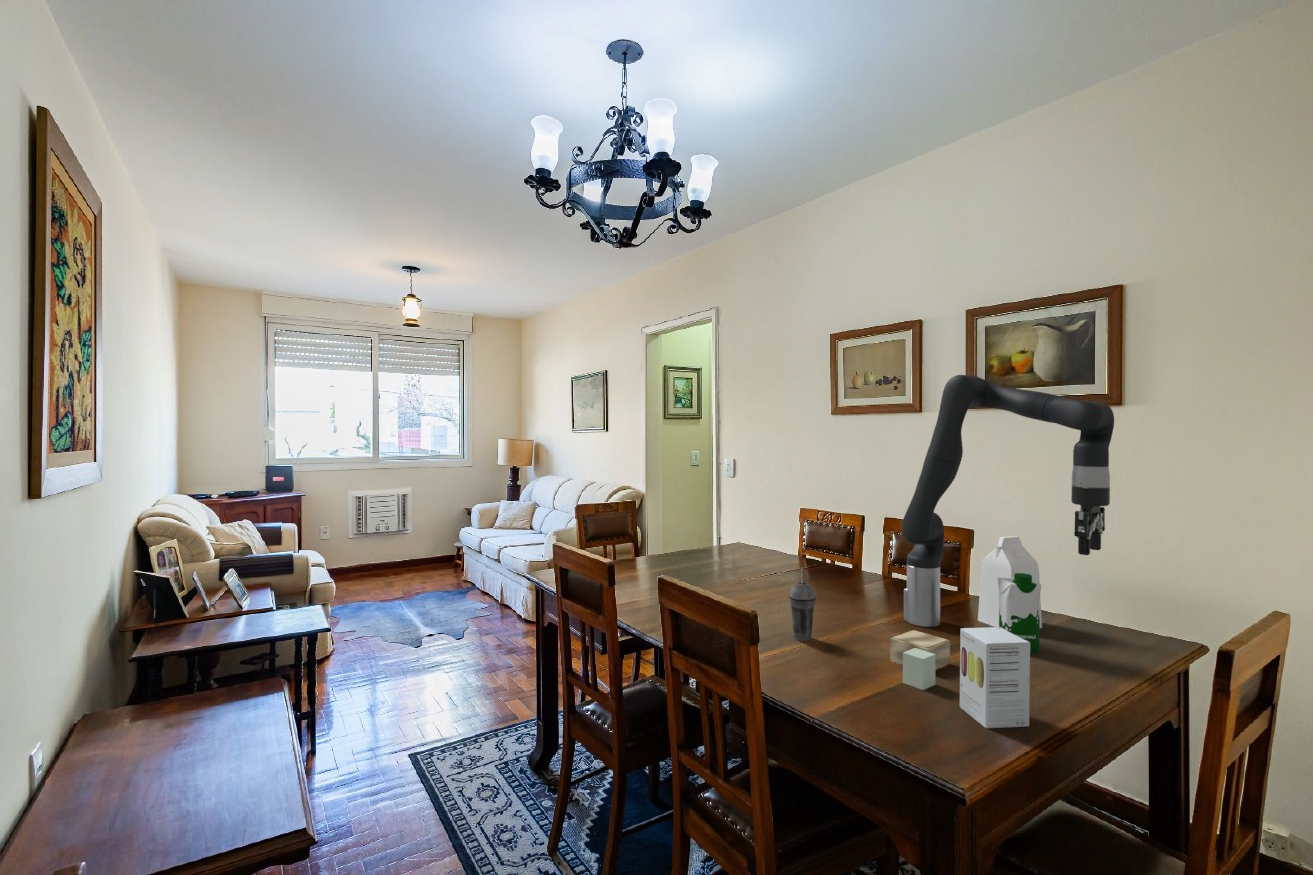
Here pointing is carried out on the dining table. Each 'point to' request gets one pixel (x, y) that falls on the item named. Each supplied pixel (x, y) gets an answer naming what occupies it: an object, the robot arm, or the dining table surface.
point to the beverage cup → (802, 609)
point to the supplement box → (995, 677)
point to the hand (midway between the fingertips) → (1089, 552)
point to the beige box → (920, 647)
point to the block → (919, 668)
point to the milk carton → (1020, 608)
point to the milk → (1003, 575)
